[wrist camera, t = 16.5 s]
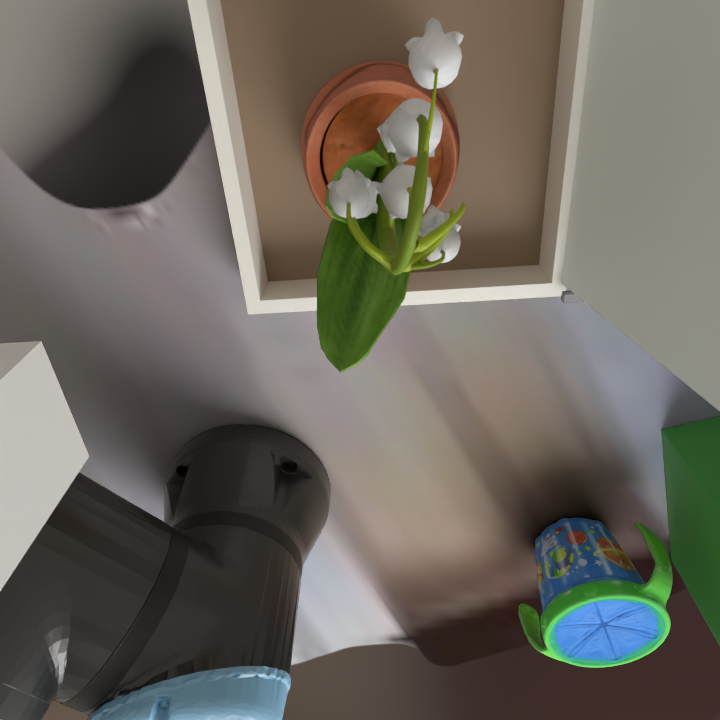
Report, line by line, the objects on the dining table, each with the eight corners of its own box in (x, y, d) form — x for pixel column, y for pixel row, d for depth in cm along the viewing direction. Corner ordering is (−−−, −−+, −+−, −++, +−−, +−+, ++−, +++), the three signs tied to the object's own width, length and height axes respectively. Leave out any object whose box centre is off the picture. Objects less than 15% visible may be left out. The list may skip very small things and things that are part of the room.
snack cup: (542, 598, 61) (570, 694, 52) (477, 554, 57) (496, 648, 49) (668, 525, 55) (724, 619, 46) (604, 470, 51) (652, 560, 43)
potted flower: (313, 10, 33) (202, -24, 11) (479, 36, 33) (676, 51, 12) (297, 210, 39) (206, 435, 17) (439, 229, 39) (520, 471, 18)
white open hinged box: (258, 291, 43) (169, 496, 24) (193, -67, 32) (-67, -206, 13) (597, 270, 41) (783, 471, 23) (656, -111, 30) (1120, -337, 11)
